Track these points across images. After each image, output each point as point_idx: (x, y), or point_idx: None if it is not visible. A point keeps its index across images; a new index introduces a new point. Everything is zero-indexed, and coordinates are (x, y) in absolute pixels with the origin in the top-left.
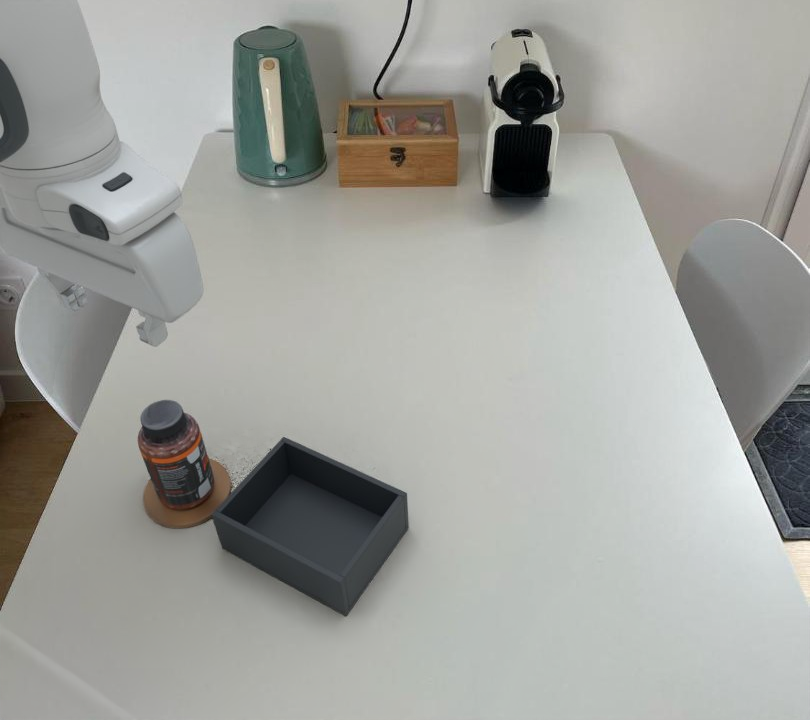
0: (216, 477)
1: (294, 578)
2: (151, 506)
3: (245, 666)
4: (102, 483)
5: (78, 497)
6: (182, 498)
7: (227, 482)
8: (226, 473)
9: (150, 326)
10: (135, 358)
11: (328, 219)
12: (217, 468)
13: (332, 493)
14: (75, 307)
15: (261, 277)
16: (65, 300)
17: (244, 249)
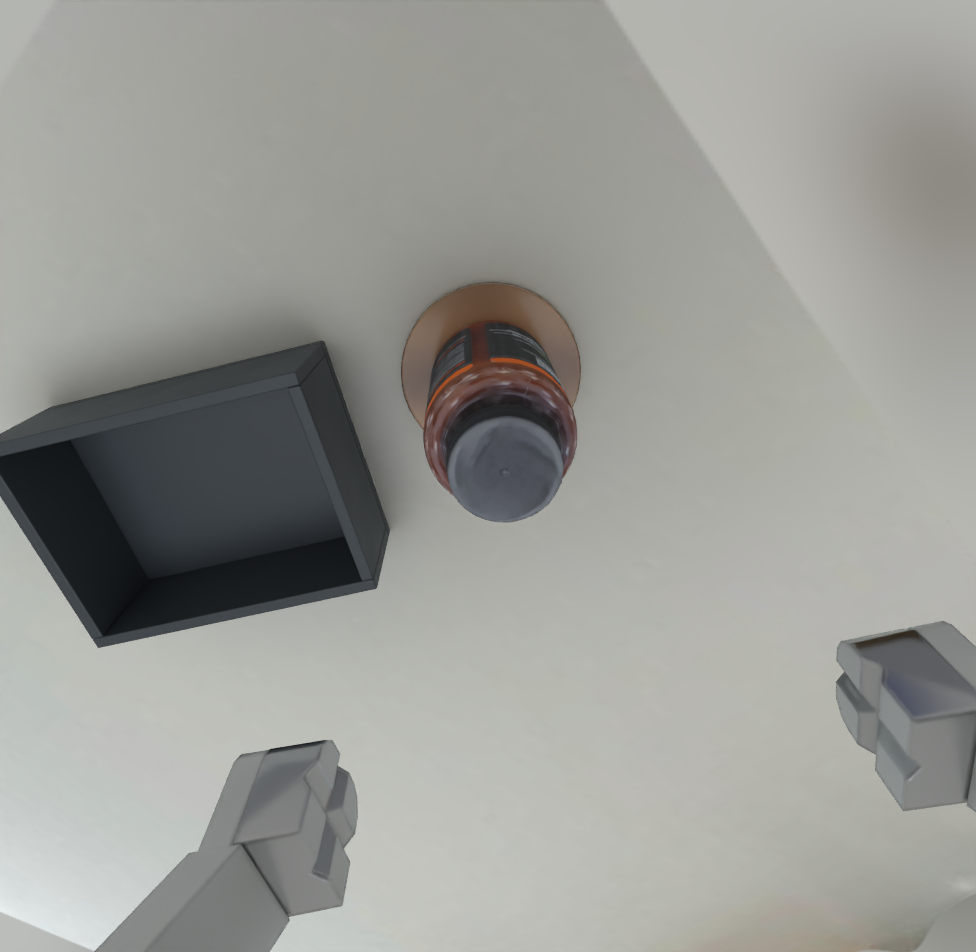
0: None
1: (132, 394)
2: (509, 299)
3: (55, 211)
4: (657, 259)
5: (668, 196)
6: (439, 355)
7: None
8: None
9: (125, 924)
10: (884, 501)
11: (826, 897)
12: None
13: (285, 549)
14: (851, 663)
15: (824, 761)
16: (923, 680)
17: None
